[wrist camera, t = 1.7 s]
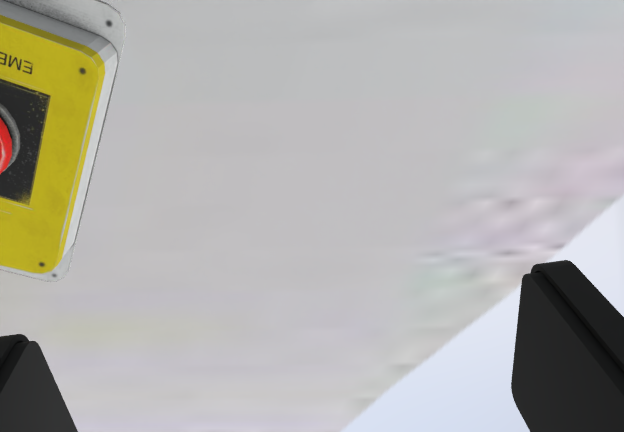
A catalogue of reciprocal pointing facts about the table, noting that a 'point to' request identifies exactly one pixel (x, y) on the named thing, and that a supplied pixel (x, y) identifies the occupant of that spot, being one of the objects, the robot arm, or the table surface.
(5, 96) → the emergency button
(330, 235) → the table surface
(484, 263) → the table surface
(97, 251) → the table surface
